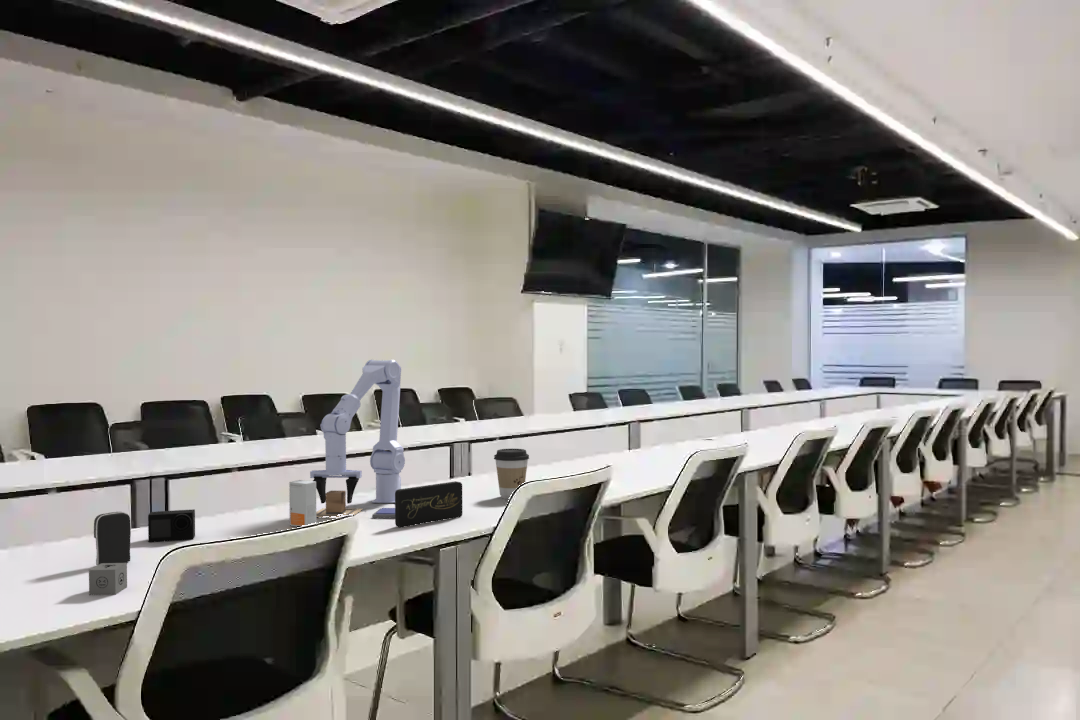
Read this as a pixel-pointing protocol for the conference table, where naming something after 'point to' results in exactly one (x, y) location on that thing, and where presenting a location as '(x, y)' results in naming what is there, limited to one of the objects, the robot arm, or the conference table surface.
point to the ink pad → (384, 513)
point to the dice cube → (107, 579)
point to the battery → (112, 537)
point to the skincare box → (302, 502)
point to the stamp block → (335, 502)
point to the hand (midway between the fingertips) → (336, 502)
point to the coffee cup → (510, 469)
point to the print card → (348, 511)
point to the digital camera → (171, 525)
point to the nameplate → (428, 503)
